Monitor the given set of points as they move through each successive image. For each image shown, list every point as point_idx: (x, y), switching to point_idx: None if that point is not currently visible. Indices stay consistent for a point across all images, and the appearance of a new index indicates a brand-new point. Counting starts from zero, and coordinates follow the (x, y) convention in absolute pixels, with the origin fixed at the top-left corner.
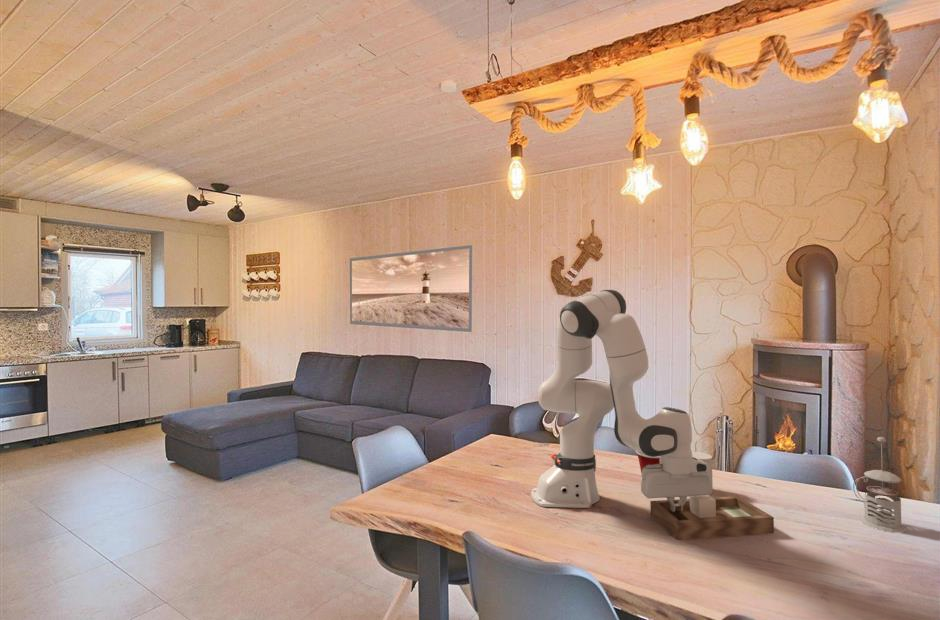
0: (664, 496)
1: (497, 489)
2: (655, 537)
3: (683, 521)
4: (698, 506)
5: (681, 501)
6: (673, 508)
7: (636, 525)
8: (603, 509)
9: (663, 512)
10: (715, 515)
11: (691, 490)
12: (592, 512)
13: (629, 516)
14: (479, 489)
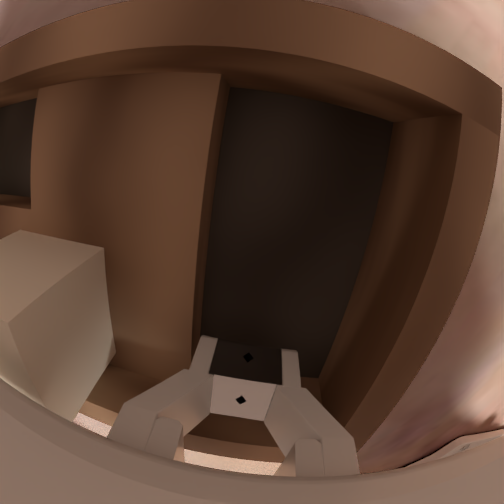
0: (460, 464)
1: None
2: (498, 184)
3: (440, 72)
4: (52, 300)
5: (183, 413)
6: (298, 371)
7: (472, 323)
8: (435, 435)
9: (440, 327)
10: (15, 232)
11: (7, 468)
12: (474, 417)
13: (420, 397)
14: None
